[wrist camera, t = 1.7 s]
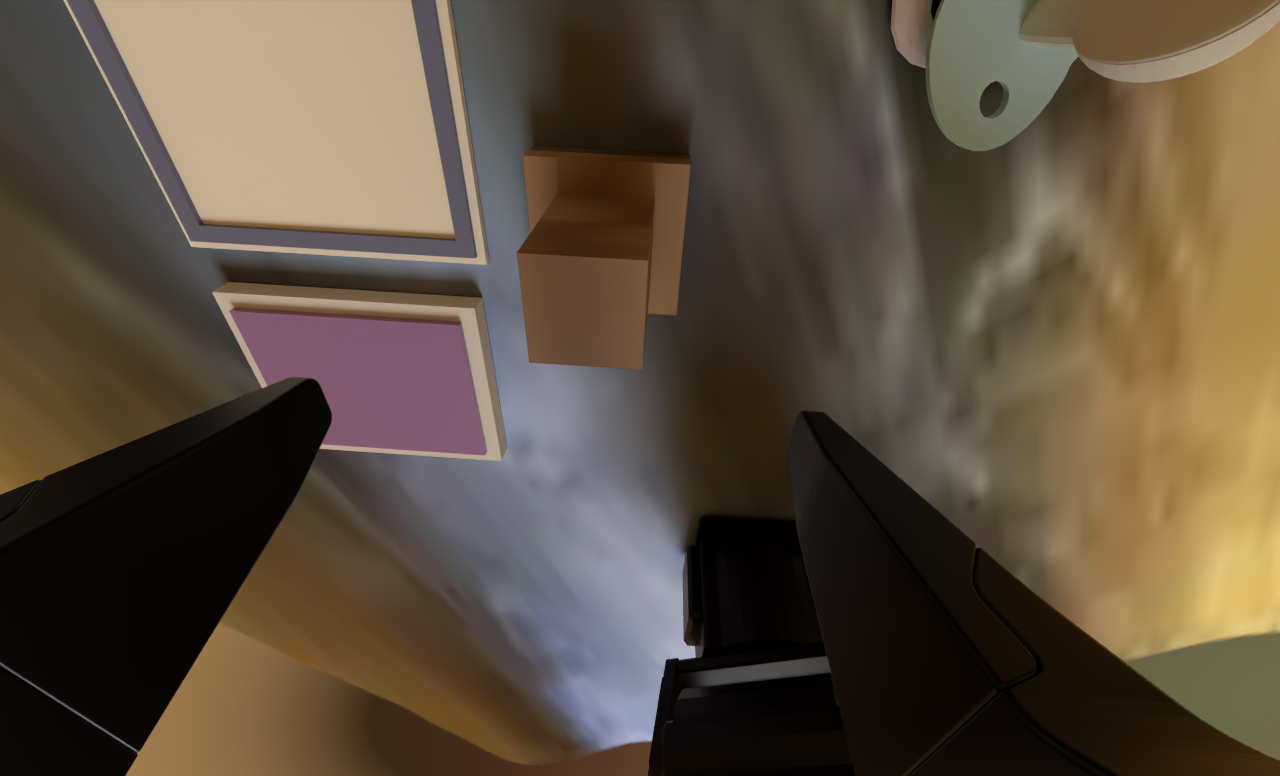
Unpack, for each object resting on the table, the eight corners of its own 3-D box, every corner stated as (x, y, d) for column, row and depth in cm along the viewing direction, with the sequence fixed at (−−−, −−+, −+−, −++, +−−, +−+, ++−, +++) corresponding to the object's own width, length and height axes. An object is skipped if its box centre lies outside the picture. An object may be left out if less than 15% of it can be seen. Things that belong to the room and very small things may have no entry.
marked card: (423, -184, 12) (414, -191, 11) (489, 261, 18) (485, 267, 18) (-30, -203, 12) (-55, -211, 11) (197, 243, 18) (187, 248, 18)
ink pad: (481, 297, 19) (472, 312, 18) (506, 447, 24) (500, 465, 23) (229, 282, 19) (205, 295, 18) (304, 433, 24) (288, 451, 23)
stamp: (689, 154, 16) (697, 218, 11) (676, 296, 19) (677, 402, 14) (534, 145, 16) (466, 205, 11) (545, 288, 19) (496, 389, 14)
